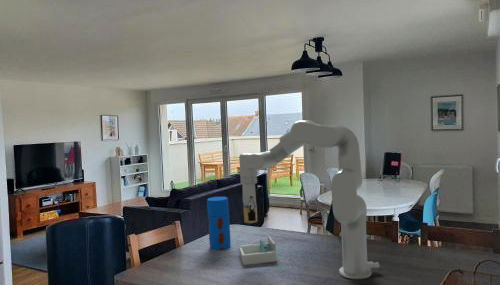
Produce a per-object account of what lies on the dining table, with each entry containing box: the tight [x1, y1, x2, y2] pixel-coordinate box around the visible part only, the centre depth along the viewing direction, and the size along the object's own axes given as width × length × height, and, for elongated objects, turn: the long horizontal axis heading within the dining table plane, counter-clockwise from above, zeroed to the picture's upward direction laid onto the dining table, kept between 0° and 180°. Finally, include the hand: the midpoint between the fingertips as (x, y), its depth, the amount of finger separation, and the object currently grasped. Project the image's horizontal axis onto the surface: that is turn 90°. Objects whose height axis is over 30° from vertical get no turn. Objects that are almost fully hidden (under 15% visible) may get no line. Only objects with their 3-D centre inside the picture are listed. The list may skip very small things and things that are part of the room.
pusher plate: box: [259, 239, 267, 253], centre depth 179 cm, size 1×11×6 cm, turn 8°
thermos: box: [206, 196, 231, 251], centre depth 198 cm, size 11×11×25 cm
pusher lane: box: [238, 235, 277, 266], centre depth 179 cm, size 15×14×8 cm
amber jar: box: [243, 203, 258, 224], centre depth 178 cm, size 6×6×8 cm
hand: (250, 218), depth 178 cm, fingers closed on amber jar, 6 cm apart
